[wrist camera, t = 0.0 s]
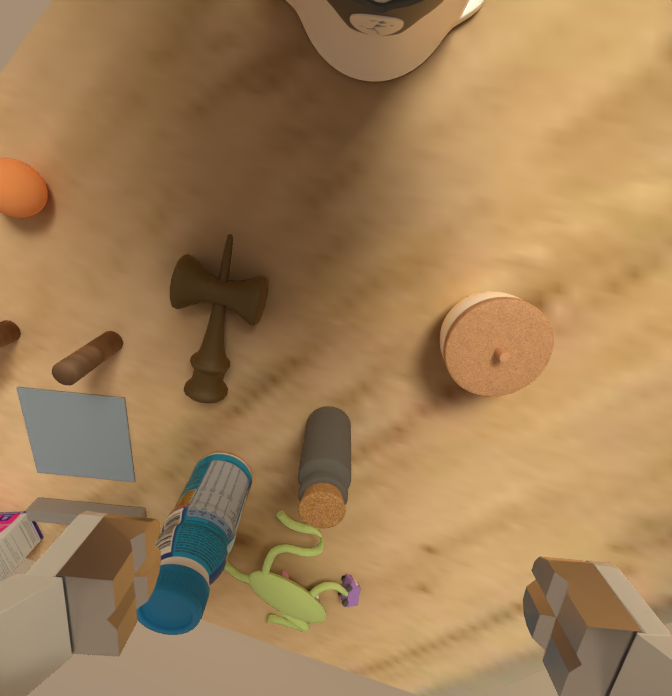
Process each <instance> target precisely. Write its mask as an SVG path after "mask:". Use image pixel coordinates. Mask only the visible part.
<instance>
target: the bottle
mask: <svg viewBox="0 0 672 696" xmlns="http://www.w3.org/2000/svg"><path fill="white" fill-rule="evenodd" d="M298 481H299V484H300V489H299V501H300V503H299V507H298V512H299V515H300V517H301V519H302V520H303V521H304V522H305V523H307V524H308V525H310V526H313V527H316V528H330V527H333V526H335V525H337V524H338V523H340V522H341V521H342V520H343V518H344V516H345V512H346V508H345V505H346V503H347V499H348V488H349V486H350V483H351V425H350V420H349V418H348V416H347V415H346V414H345V413H344V412H343V411H342V410H340V409H338V408H335V407H322V408H319V409H317V410H315V411H314V412H313V413H312V414H311V415H310V417H309V418H308V421H307V426H306V431H305V437H304V443H303V449H302V455H301V461H300V467H299V474H298Z"/></svg>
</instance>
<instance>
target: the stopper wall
mask: <svg viewBox="0 0 672 696" xmlns="http://www.w3.org/2000/svg"><path fill="white" fill-rule="evenodd" d="M85 511H91V512H99V513H106V514H110V513H112V514H120V515H128V516H136V517H144V518H146V511H145V508H140V507H130V506H119V505H109V504H99V503H89V502H79V501H68V500H58V499H48V498H37V499H36V500H35V501H34V502H33V503H32V504H31V505H30V506H29V507H28V508H27V509H26V514H27V517H28V521H37V522H47V523H57V524H68V525H70V524H71V522H72V521H73V520H74V519H75V518H76V517H77V516H78V515H79V514H81V513H83V512H85Z"/></svg>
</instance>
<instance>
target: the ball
mask: <svg viewBox="0 0 672 696" xmlns="http://www.w3.org/2000/svg"><path fill="white" fill-rule="evenodd" d="M47 198H48V191H47V187H46V184H45V182H44V180H43V179H42V177H41V176H40V175H39V173H38V172H37V171H35V170H34V169H33V168H32V167H30V166H29V165H27V164H25V163H23V162H21V161H18V160H15V159H9V158H0V213H2V214H5V215H8V216H12V217H29V216H32V215H35V214H37V213H38V212H40V211H41V210H42V209H43V208H44V206H45V204H46V202H47Z"/></svg>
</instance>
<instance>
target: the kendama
mask: <svg viewBox="0 0 672 696" xmlns="http://www.w3.org/2000/svg"><path fill="white" fill-rule="evenodd" d="M232 245H233V236H232V235H231V234H229V235H228V237H227V240H226V244H225V249H224V254H223V259H222V264H221V270H220V275H219V277H216V276H214V275H212V274H210V273H209V272H208V271H207V270H206V269H204V268H203V266H202V265H201V264H200V263H199V262H198V261H197V260H196V259H195V258H194V257H193V256H191V255H189V254H186V255H184V256H182V257H181V258H180V260H179V261H178V262H177V264H176V266H175V269H174V272H173V275H172V279H171V285H170V301H171V305H172V307H174V308H176V309H180V308H184V307H187V306H190V305H193V304H196V303H200V302H211V303H214V304H213V309H212V313H211V316H210V320H209V324H208V327H207V331H206V334H205V337H204V340H203V343H202V346H201V348H200V350H199V351H198V352H197V353H195V354H194V355H192V356H191V359H190V363H191V365H192V367H193V368H194V371H193V376H192V378H191V379H190V380H188V381H187V382H186V384H185V386H184V392H185V394H186V395H187V396H188V397H190V398H191V399H193V400H195V401H198V402H203V403H215V402H218V401H220V400H223V399H224V398H225V397H226V396H227V392H228V388H227V386H226V384H225V383H224V382H223V374H224V372H225V371H226V370H227V369H228V368H229V367H230V361H229V359H228V358H227V357H226V356H225V350H224V321H225V306H226V307H228V308H230V309H232V310H234V311H235V312H236V313H238V314H239V315H240V316H241V317H242V318H243V319H244V320H245V321H246V322H248V323H249V324H250V325H252V326H255V325H256V324H257V323H258V322H259V320H260V318H261V316H262V313H263V310H264V306H265V302H266V298H267V292H268V279H267V278H266V277H257V278H253V279H249V280H245V281H231V280H228V278H229V270H230V262H231V254H232Z"/></svg>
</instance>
